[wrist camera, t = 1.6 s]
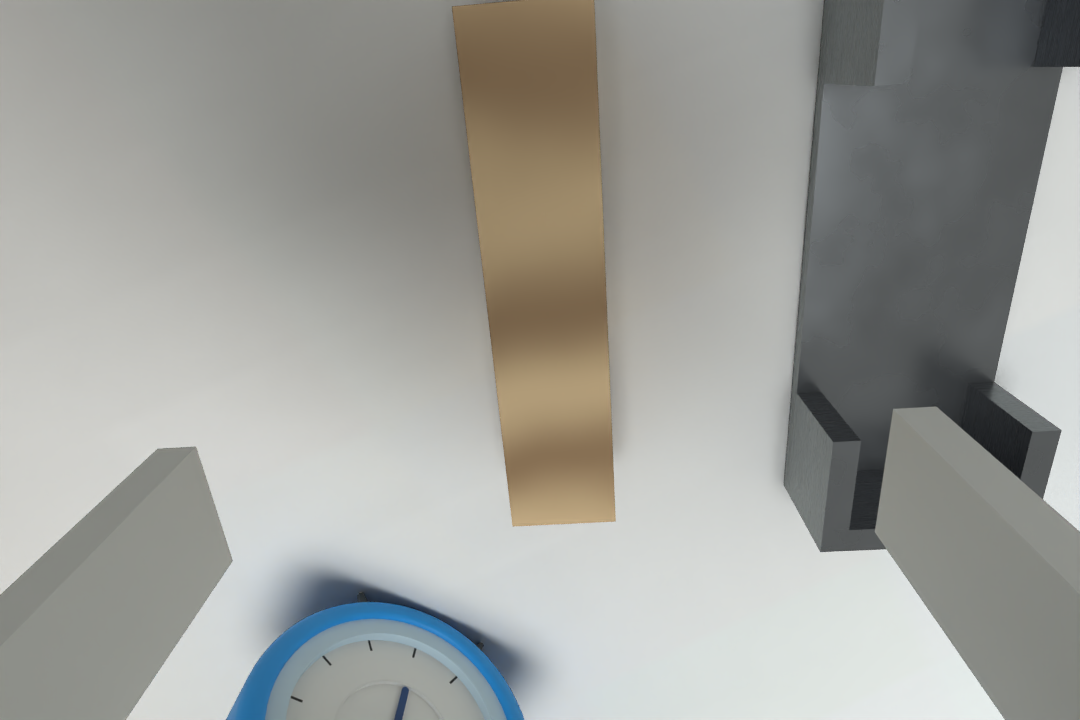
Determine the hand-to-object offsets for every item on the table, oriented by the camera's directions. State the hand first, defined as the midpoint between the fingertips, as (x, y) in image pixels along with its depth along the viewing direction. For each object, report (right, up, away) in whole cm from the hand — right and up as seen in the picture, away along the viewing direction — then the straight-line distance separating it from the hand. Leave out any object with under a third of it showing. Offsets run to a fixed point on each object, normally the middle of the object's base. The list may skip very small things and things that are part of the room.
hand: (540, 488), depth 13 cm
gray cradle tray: (+14, +7, +13) cm, 21 cm away
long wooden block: (0, +6, +14) cm, 15 cm away
